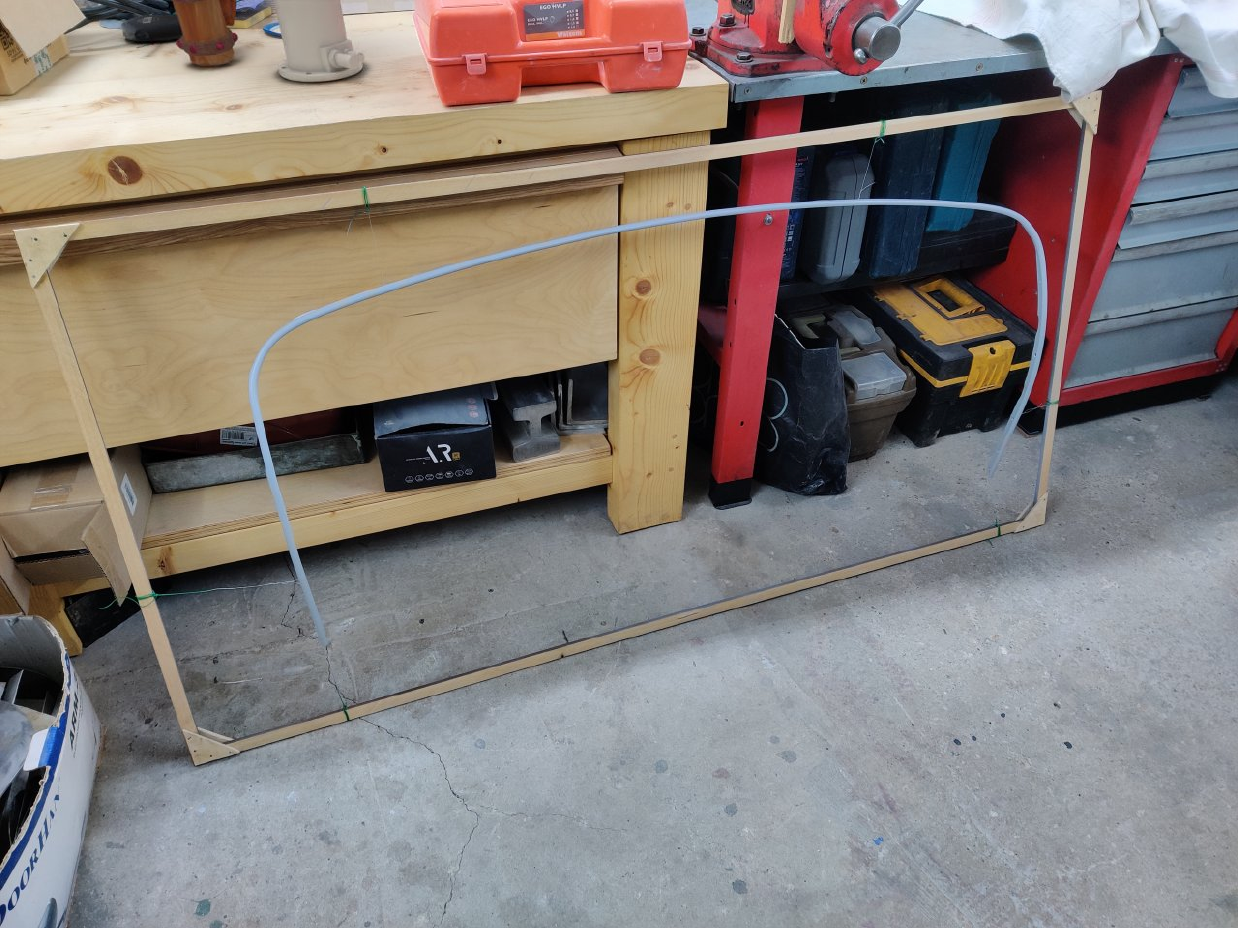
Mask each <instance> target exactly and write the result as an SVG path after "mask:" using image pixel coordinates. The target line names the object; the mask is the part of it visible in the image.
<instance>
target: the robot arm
mask: <svg viewBox="0 0 1238 928" xmlns="http://www.w3.org/2000/svg"><path fill="white" fill-rule="evenodd" d="M273 4H274V8H275V14H276V16H277V22H278V26H279V30H280V35H281V40H282V44H283V49H284V53H285V56H286V59H284V60H283V61H281V62H280V63H279V65H278V67H277V68H278V73H279V75H280V76H281V77H282V78H284V79H286V80H290V81H294V82H300V83H301V82H305V83H318V82H319V83H320V82H329V81H336V80H340V79H346V78H349V77H351V76H354V75H356V74H358V73H360V71H361V70H362V69H363V62H364V61H365V55H364V53H362V52H360V51H354V46H353V41H352V39H348V35H347V30H346V23H345V19H344V15H343V8H342V3H341V0H273Z"/></svg>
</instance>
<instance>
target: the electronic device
mask: <svg viewBox="0 0 1238 928" xmlns="http://www.w3.org/2000/svg"><path fill="white" fill-rule="evenodd" d="M120 28H121V32H122V36H123V37H124V38H125V39H127V40H129V41H132V42H133V41H134V42H155V41H163V42H166V41H167V42H168V41H172V40H175V39H176V40H178V39H180V38H181V36H182V35H183V34H182V30H181V27H180V23H179V20H178V16H177V14H145V15H140V16H135V17H132V18H129V19H127V20H125V21H123V22H122V23H121V24H120Z"/></svg>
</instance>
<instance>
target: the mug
mask: <svg viewBox="0 0 1238 928" xmlns="http://www.w3.org/2000/svg"><path fill="white" fill-rule="evenodd" d="M170 1H171V2H172V3H173V7H174V9H175V13H176V15H177V16H178V20H179V23H180V27H181V30H182V34H183V35H182V36H181V38H178V39H176V41H175V45H176V47H178V49H180V50H182V51H183V52H185V53H186V54H187V55H188V56H189V60H190V62H191V63H192V64H193V65H196V66H199V67H218V66H223V65H226V64H228V63H230V62H231V61H232V60H233V59H234V58H235V49H234V46H235V45H236V42H237V41H238V40H239V36H238V34H237V33H236V32H233V31H232V29H231V28H229V27H234V26H235V22H236V16H237V15H236V13H237V0H170Z"/></svg>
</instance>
